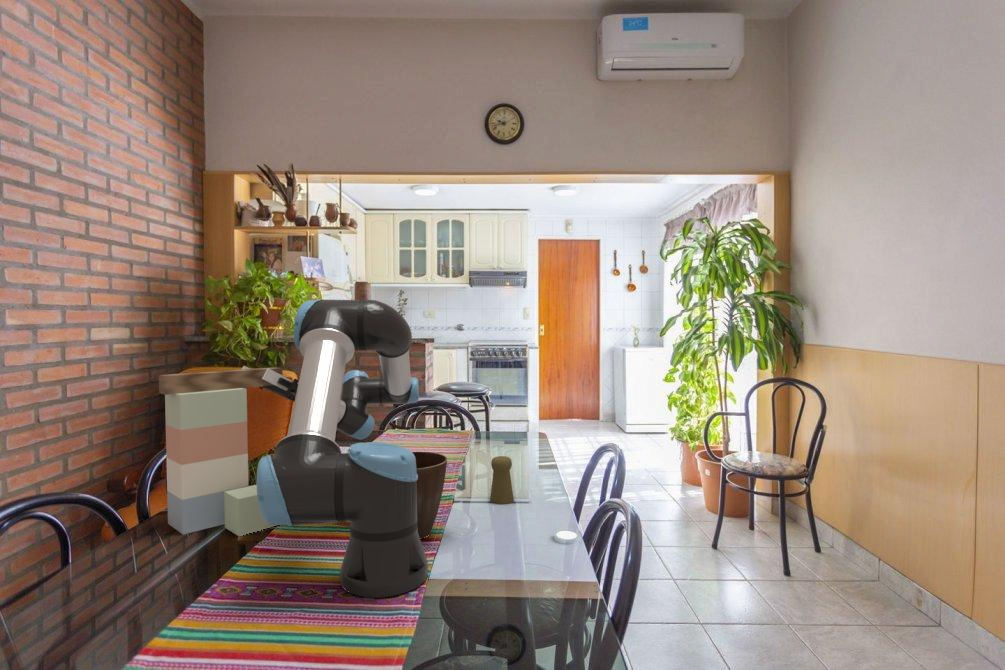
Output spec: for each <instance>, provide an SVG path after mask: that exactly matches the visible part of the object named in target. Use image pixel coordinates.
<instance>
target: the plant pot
mask: <svg viewBox="0 0 1005 670" xmlns="http://www.w3.org/2000/svg"><path fill="white" fill-rule="evenodd" d="M411 452H412V453H413V454H414V456H415V458H416V470H417V475H418V480H417V481H416V484H417V530H418V534H419V537H420V538H424V537H426V536H428V535H429V536H430V535H431V533H432V531H433V527H434V525H435V522H436V518H437V514H438V512H439V508H440V506H441V505H440V504H441V500H442V495H443V491H444V486H445V480H446V473H447V465H448V457H447V456H446V455H444V454H441V453H437V452H432V451H431V452H430V451H411ZM429 536H428V537H429ZM426 538H427V537H426ZM424 539H425V538H424Z"/></svg>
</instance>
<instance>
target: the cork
mask: <svg viewBox="0 0 1005 670" xmlns="http://www.w3.org/2000/svg"><path fill="white" fill-rule="evenodd" d="M490 465H491V466H490V467H491V468H492V470H493V473H492V479H491V480H492V481H491V488H490V496H489V501H490V503H492V504H495V505H507V504H511V503H513V502H514V501H515V499H514V493H513V485H512V477H511V469H512V465H513V462H512V459H511V457H509V456H507V455H506V456H505V455H498V456H495V457H493V458H492V460H491V462H490Z"/></svg>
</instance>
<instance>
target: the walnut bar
mask: <svg viewBox="0 0 1005 670" xmlns="http://www.w3.org/2000/svg"><path fill="white" fill-rule="evenodd" d="M267 368H268V369H271V370H273V371H274V372H276V373H278V374H280V375H282V376H284V375H283V368H282V367H262V368H260V367H259V368H250V369H243V370H242V369H233V370H232V369H231V370H215V371H201V372H184V373H172V374H171V373H170V374H158V394H161V395H163V396H165V395H168V394H180V393H191V392H202V391H213V390H224V389H236V388H244V389H247V388H258V387H260V386H269V385H273V384H271V383H269V382H267V381H265V380H263V379H262V378H263V376H264V374H265V372H266V370H267Z"/></svg>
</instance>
